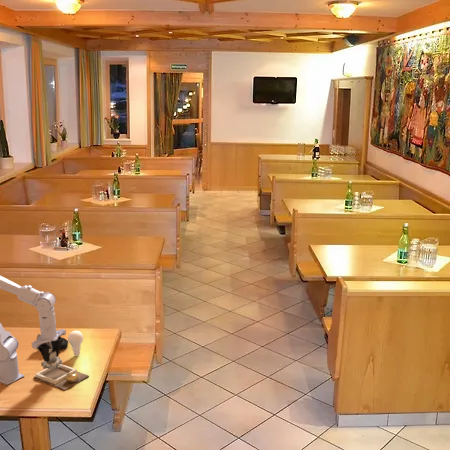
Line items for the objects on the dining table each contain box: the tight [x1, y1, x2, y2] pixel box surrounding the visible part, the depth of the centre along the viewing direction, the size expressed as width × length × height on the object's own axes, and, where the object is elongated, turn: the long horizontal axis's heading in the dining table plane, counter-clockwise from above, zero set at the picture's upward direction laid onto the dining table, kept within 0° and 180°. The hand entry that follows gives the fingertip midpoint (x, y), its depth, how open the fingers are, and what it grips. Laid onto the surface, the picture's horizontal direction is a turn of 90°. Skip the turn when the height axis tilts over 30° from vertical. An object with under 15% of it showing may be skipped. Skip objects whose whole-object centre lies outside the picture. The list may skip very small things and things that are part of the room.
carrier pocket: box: [35, 363, 78, 384], centre depth 222 cm, size 11×11×1 cm
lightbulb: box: [67, 330, 84, 357], centre depth 237 cm, size 6×6×11 cm
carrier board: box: [33, 367, 90, 391], centre depth 220 cm, size 18×12×1 cm
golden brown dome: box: [66, 371, 78, 384], centre depth 217 cm, size 4×4×2 cm
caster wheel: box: [35, 333, 69, 351], centre depth 245 cm, size 7×11×10 cm
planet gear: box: [40, 349, 63, 370], centre depth 218 cm, size 8×8×6 cm
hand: (51, 358), depth 218 cm, fingers closed on planet gear, 4 cm apart
